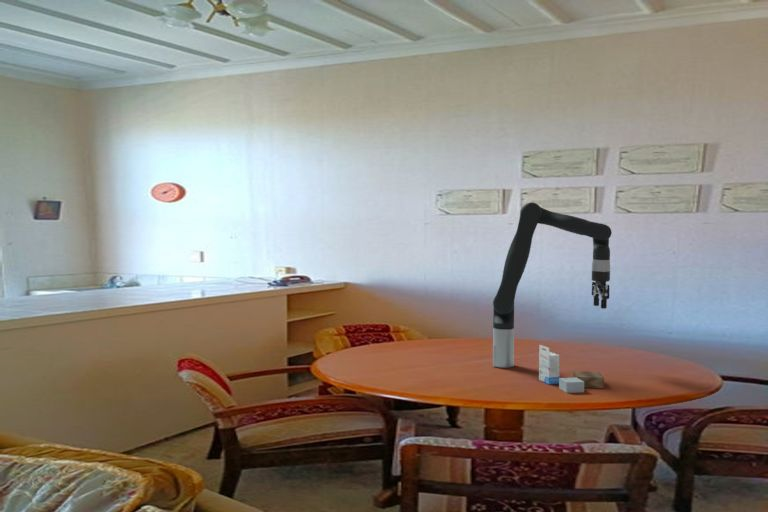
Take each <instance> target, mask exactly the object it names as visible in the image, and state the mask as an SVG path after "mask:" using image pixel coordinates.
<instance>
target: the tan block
mask: <svg viewBox="0 0 768 512" xmlns="http://www.w3.org/2000/svg"><path fill="white" fill-rule="evenodd" d="M572 373H573V375H572V376H573V377H577V378H578V379H580V380H582V381H584V388H593V389H594V388H596V389H604V388H605V377H604V375H602V373H600V371H587V370H585V371H584V370H573V372H572ZM573 377H572V378H573Z"/></svg>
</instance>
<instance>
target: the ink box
mask: <svg viewBox="0 0 768 512" xmlns="http://www.w3.org/2000/svg"><path fill="white" fill-rule="evenodd" d="M538 347H539V348H538V350H539V351H538V352H539V353H538V381H541V382H543V383H545V384H547V385H559V378H560V364H561V363H560V354H557V353H555V352H552V351H550V347H548V346H545V345H542V344H539V346H538Z"/></svg>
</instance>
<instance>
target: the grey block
mask: <svg viewBox="0 0 768 512" xmlns="http://www.w3.org/2000/svg"><path fill="white" fill-rule="evenodd" d="M558 388H559V389H560V390H561V391H563V392H564V393H566V394H570V393H571V394H573V393H585V387H584V381H582V380H580V379H578V378H577V377H559V384H558Z"/></svg>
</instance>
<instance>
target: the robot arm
mask: <svg viewBox="0 0 768 512" xmlns="http://www.w3.org/2000/svg"><path fill="white" fill-rule="evenodd" d="M539 224H540V225H546V226H551V227H553V228H556V229H560V230H562V231H565V232H568V233H573V234H576V235H580V236H586V237H588V238H592V246H593V249H592V250H593V251H592V263H591V281H592V282H591V296H592V297H593V306H595V307H599V306H600V308H601V309H607V306H608V305H607V301H608V300H609V299H610V284H607V282H610V281H611V248H610V246H609V245H610V238H611V237H612V233H613V232H612V229H611V227H610V226H609V225H607V224H604V223H600V222H597V221H596V222H595V221H590V220H587V219H584V218H581V217H577V216H573V215H570V214H563V213H558V212H555V211H551V210H548V209H545V208H543V207H541V206H540V205H539V204H537V203H536V202H532V201H531V202H526V203H524V204H523V205H522V206H521V208H520V212H519V220H518V224H517V229H516V232H515V235H514V237H513V239H512V241H511V242H510V246H509V248H508V251H507V254H506V258H505V261H504V266H503V271H502V276H501V281H500V286H499V288H498V289H497V293H496V294H495V296H494V298H493V300H492V306H493V307H492V308H493V322H492V326H493V327H492V329H493V330H492V338H493V339H492V342H493V343H492V366H493V367H495V368H503V369H504V368H506V369H507V368H512V367H514V366H515V365H514V363H515V361H514V360H515V359H514V358H515V352H514V351H515V350H514V349H515V299H516V293H517V289H518V286H519V283H520V281H521V279H522V277H523V274H524V272H525V269H526V267H527V263H528V260H529V257H530V253H531V247H532V243H533V236H534V234H535V231H536V228H537V226H538V225H539ZM600 299H601V300H600Z"/></svg>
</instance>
